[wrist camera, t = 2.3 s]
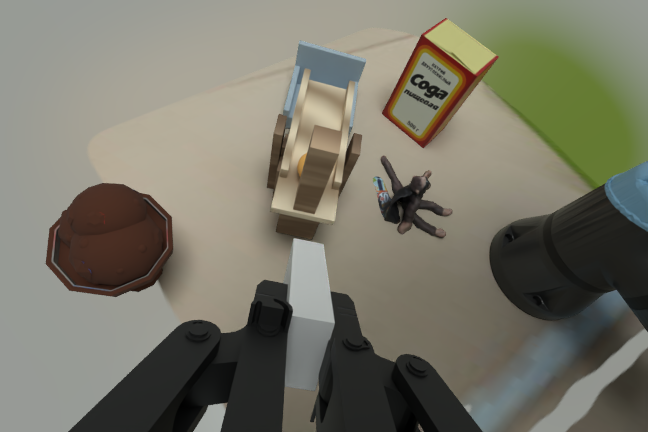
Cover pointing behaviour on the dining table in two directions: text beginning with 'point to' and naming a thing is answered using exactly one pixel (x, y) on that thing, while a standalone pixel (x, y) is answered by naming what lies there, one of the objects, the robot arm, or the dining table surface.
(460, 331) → the dining table surface
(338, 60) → the bin
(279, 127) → the stand
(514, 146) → the dining table surface
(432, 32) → the baking soda box
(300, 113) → the lever
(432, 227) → the stuffed animal
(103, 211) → the ice cream bowl
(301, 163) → the ball
